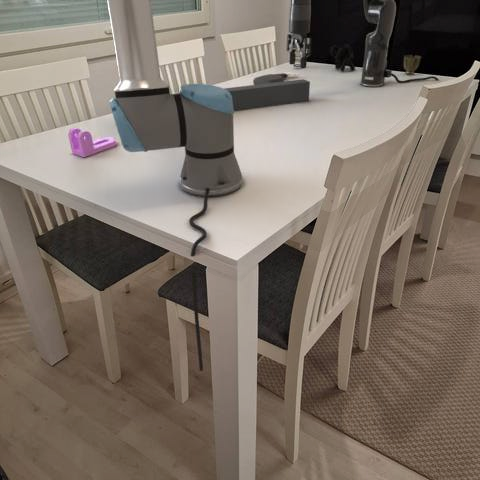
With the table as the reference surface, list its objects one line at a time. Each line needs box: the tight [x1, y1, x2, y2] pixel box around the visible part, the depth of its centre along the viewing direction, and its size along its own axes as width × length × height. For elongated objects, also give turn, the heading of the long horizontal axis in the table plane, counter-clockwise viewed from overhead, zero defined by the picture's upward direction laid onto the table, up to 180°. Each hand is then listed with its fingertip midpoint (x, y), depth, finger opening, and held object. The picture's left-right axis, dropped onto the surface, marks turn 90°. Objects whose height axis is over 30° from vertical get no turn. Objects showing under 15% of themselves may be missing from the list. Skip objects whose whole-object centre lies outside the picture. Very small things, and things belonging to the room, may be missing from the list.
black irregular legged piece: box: [330, 43, 356, 72], centre depth 219 cm, size 11×10×15 cm
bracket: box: [67, 127, 117, 158], centre depth 130 cm, size 13×6×7 cm, turn 143°
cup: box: [403, 54, 422, 76], centre depth 208 cm, size 8×7×8 cm
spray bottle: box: [252, 71, 300, 85], centre depth 201 cm, size 3×11×24 cm
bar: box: [223, 78, 311, 112], centre depth 162 cm, size 72×5×7 cm, turn 112°
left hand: (126, 48), depth 142 cm, fingers open, 13 cm apart
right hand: (297, 66), depth 167 cm, fingers open, 8 cm apart
